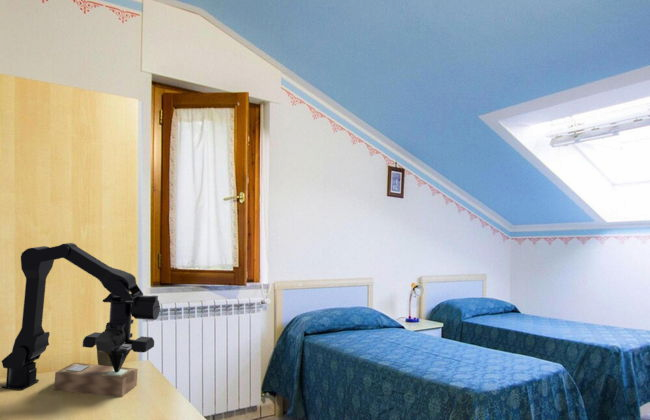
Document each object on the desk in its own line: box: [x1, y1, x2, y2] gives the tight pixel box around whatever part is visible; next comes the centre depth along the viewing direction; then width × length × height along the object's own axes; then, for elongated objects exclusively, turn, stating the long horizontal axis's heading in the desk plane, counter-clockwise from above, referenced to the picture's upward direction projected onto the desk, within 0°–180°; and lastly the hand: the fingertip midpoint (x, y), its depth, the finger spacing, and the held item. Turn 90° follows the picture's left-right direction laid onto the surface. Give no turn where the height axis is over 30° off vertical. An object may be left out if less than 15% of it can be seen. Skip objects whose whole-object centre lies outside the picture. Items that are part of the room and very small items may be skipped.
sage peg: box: [107, 369, 128, 376], centre depth 126 cm, size 4×4×5 cm
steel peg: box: [67, 365, 89, 372], centre depth 127 cm, size 4×4×5 cm
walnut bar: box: [53, 362, 139, 398], centre depth 126 cm, size 20×8×5 cm, turn 85°
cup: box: [96, 349, 113, 366], centre depth 138 cm, size 8×7×8 cm
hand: (117, 371), depth 126 cm, fingers closed, pressing on sage peg
